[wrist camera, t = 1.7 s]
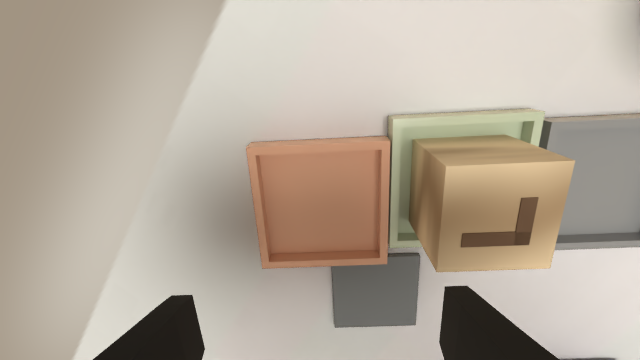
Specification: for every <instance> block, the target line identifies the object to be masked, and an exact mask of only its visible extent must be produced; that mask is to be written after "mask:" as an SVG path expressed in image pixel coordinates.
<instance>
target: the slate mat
mask: <svg viewBox="0 0 640 360" xmlns="http://www.w3.org/2000/svg"><path fill="white" fill-rule="evenodd" d="M419 266H420V255H419V253H404V254H388V255H387V264H377V265H349V266H332V279H333V301H334V322H335V328H338V327H372V326H405V325H416V311H417V296H418V281H419Z"/></svg>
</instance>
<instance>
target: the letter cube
mask: <svg viewBox="0 0 640 360" xmlns="http://www.w3.org/2000/svg"><path fill="white" fill-rule="evenodd" d="M574 164H575V160H573V159H570V158H567V157H565V156H562V155H559V154H557V153H554V152H551V151H549V150H546V149H543V148H541V147H538V146H535V145H533V144H530V143H527V142H525V141H522V140H519V139H517V138H514V137H511V136H509V135H506V134H505V135H484V136H463V137H442V138H421V139H413V142H412V162H411V182H410V202H409V223H410V224H411V226H412V228H413V230H414V232H415V234H416V235H417V237H418V239H419V241H420V243H421V245H422V246H423V248H424V250H425V252H426V254H427V256H428V257H429V259H430V261H431V263H432V265H433V267H434V268H435V270H436V272H459V271H488V270H517V269H545V268H550V266H551V262H552V258H553V254H554V249H555V245H556V241H557V236H558V232H559V228H560V224H561V219H562V215H563V211H564V207H565V202H566V198H567V194H568V190H569V185H570V181H571V177H572V173H573V168H574Z"/></svg>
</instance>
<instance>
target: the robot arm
mask: <svg viewBox="0 0 640 360" xmlns="http://www.w3.org/2000/svg"><path fill="white" fill-rule="evenodd" d="M439 343H440V346H441V350H442V353H443V356H444V360H559V359H558V358H556V357H555V356H554V355H552V354H551V353H550V352H549V351H547V350H546V349H545V348H543V347H542V346H541V345H539V344H538V343H537V342H536V341H534V340H533V339H532V338H531V337H529V336H528V335H527V334H526V333H524V332H523V331H522V330H521V329H519V328H518V327H517V326H516V325H514V324H513V323H512V322H511V321H509V320H508V319H507V318H506V317H505V316H503V315H502V314H501V313H500V312H499V311H497V310H496V309H495V308H494V307H492V306H491V305H490V304H489V303H488V302H486V301H485V300H484V299H483V298H482V297H480V296H479V295H478V294H477V293H475V292H474V291H473V290H472V289H470V288H469V287H468V286H447V287H445V292H444V301H443V311H442V321H441V331H440V341H439ZM204 350H205V348H204V343H203V339H202V335H201V331H200V326H199V322H198V318H197V313H196V309H195V305H194V301H193V296H192V295H177V296H170V297H169V298H168V299H166V300H165V301H164V302H163V303H161V304H160V305H159V306H158V307H156V308H155V309H154V310H153V311H151V312H150V313H149V314H148V315H147V316H145V317H144V318H143V319H142V320H141V321H139V322H138V323H137V324H136V325H135V326H133V327H132V328H131V329H130V330H129V331H127V332H126V333H125V334H124V335H122V336H121V337H120V338H119V339H118V340H116V341H115V342H114V343H113V344H111V345H110V346H109V347H108V348H107V349H105V350H104V351H103V352H102V353H100V354H99V355H98V356H97V357H95V358H94V359H93V360H202V357H203V354H204Z"/></svg>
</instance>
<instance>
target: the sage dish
mask: <svg viewBox="0 0 640 360" xmlns="http://www.w3.org/2000/svg"><path fill="white" fill-rule="evenodd" d="M544 115H545V111H540V110H535V109H530V108H529V109H510V110H490V111H470V112H450V113H430V114H410V115H390V116H388V139H389V140H390V175H389V215H388V245H389V248H405V247H423V246H422V245H421V243H420V241H419V239H418V237H417V235H416V234H415V232H414V230H413V228H412V226H411V224H410V223H409V202H410V182H411V162H412V142H413V139H421V138H442V137H463V136H484V135H505V134H506V135H509V136H511V137H514V138H517V139H519V140H522V141H525V142H527V143H530V144H533V145H535V146H538V147H539V142H540V136H541V131H542V126H543V121H544Z"/></svg>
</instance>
